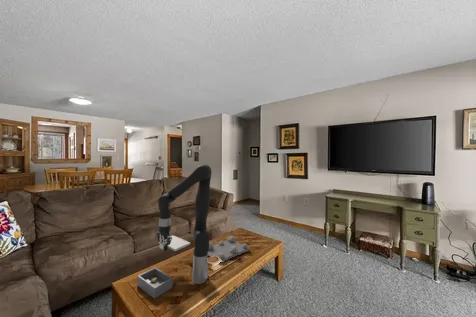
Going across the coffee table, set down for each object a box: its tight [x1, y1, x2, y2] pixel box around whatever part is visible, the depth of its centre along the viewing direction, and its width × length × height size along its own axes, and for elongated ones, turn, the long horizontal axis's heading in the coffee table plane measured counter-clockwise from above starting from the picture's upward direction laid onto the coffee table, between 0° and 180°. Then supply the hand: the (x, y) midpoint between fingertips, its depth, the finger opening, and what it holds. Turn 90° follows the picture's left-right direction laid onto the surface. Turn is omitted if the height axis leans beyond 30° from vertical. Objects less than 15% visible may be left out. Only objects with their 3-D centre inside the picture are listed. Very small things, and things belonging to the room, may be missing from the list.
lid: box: [157, 235, 191, 252], centre depth 140 cm, size 17×19×4 cm
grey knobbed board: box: [208, 235, 251, 262], centre depth 173 cm, size 35×26×10 cm
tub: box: [136, 266, 174, 300], centre depth 124 cm, size 12×18×6 cm, turn 55°
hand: (163, 249), depth 135 cm, fingers closed on lid, 3 cm apart
